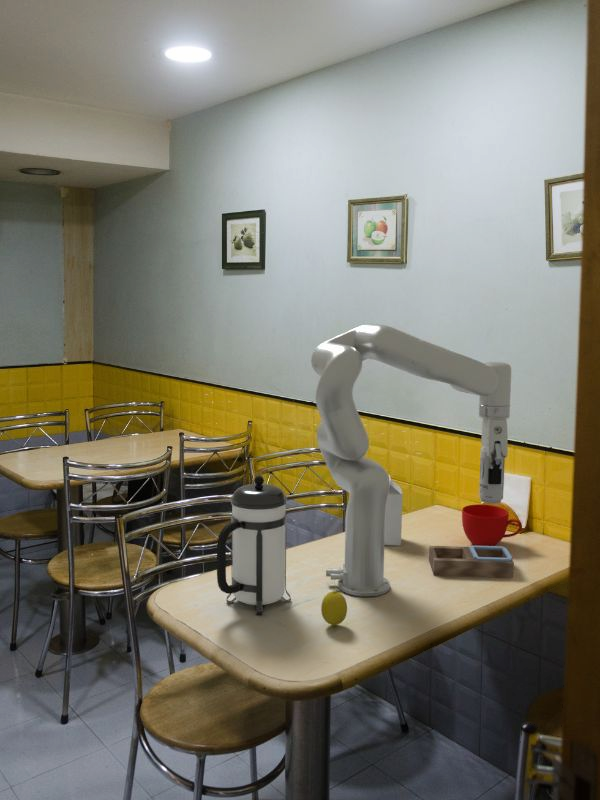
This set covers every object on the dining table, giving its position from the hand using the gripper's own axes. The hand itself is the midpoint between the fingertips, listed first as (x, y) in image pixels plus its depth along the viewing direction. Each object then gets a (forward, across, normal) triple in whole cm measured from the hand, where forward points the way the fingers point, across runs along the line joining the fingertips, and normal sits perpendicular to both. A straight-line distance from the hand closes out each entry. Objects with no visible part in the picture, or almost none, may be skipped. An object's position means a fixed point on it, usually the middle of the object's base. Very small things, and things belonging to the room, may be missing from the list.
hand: (491, 479), depth 189 cm
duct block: (+24, 0, +5) cm, 24 cm away
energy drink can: (+6, 0, 0) cm, 6 cm away
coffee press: (+23, -26, +58) cm, 68 cm away
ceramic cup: (+24, +18, -4) cm, 31 cm away
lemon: (+24, -36, +40) cm, 59 cm away
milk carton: (+24, +20, +25) cm, 40 cm away
